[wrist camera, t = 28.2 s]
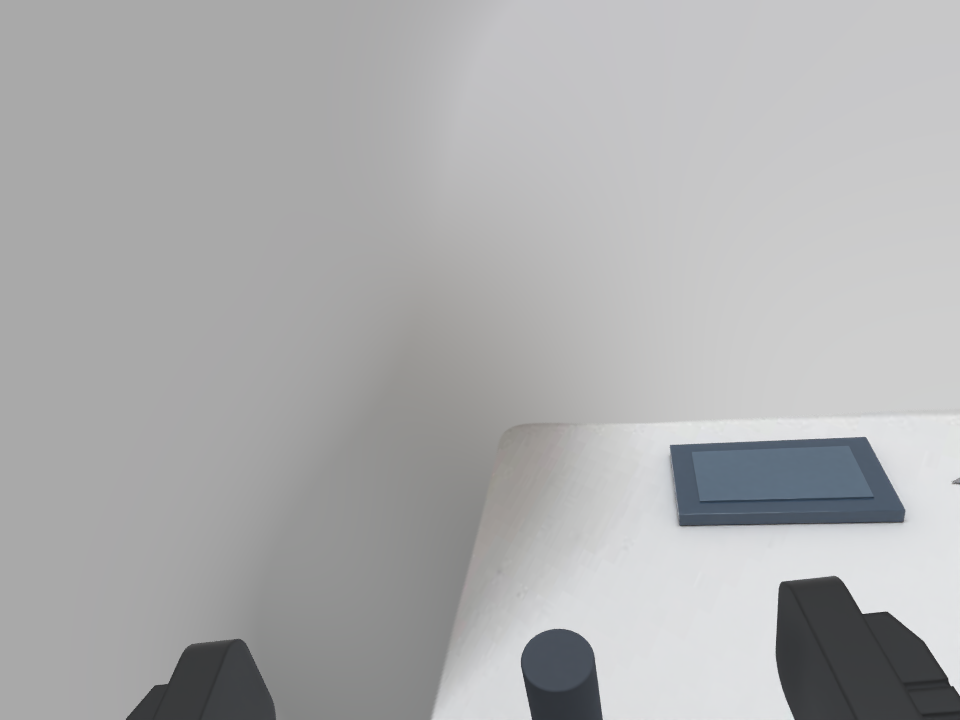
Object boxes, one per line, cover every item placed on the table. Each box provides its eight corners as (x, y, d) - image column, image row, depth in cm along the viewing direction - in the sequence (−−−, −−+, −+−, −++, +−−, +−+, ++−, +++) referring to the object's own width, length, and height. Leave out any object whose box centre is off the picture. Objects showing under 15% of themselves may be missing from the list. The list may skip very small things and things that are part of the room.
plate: (679, 525, 48) (678, 512, 48) (670, 455, 55) (669, 443, 55) (903, 521, 45) (906, 508, 45) (864, 447, 52) (866, 434, 52)
